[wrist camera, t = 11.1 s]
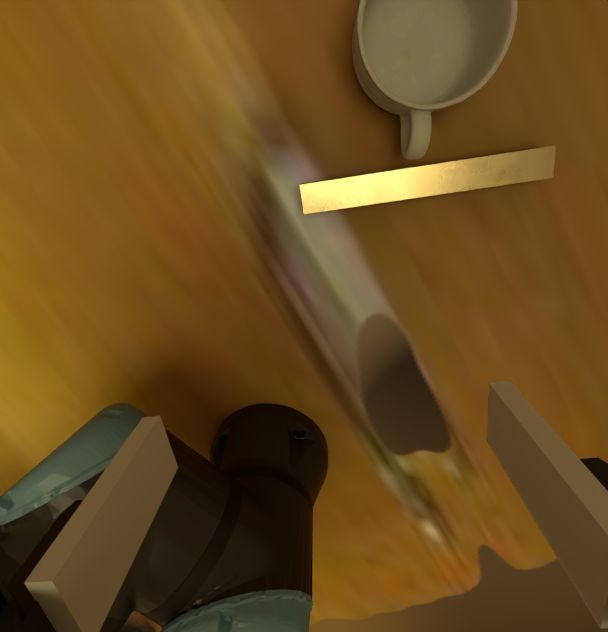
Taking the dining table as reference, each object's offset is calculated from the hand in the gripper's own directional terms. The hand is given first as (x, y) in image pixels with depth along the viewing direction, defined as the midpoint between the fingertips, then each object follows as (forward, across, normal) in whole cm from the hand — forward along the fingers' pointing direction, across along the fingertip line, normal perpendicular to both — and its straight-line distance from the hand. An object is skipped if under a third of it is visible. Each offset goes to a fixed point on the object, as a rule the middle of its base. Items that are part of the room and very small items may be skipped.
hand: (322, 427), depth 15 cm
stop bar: (+27, -10, -7) cm, 29 cm away
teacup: (+27, -10, -16) cm, 33 cm away
